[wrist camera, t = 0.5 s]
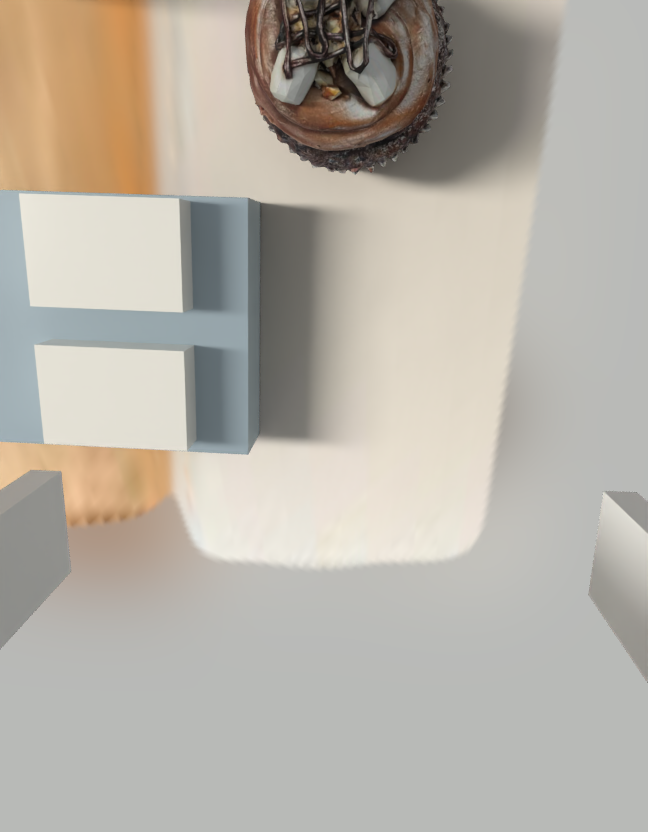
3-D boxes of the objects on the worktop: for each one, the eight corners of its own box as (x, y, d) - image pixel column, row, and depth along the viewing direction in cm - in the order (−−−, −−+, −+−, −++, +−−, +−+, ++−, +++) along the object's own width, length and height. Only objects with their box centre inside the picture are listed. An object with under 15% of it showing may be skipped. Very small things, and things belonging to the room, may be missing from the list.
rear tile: (52, 338, 34) (34, 344, 32) (194, 345, 33) (183, 351, 31) (61, 432, 35) (43, 443, 33) (196, 439, 35) (187, 451, 33)
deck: (-9, 194, 36) (-54, 188, 32) (260, 202, 35) (247, 197, 31) (16, 421, 40) (-21, 440, 36) (259, 433, 39) (248, 454, 35)
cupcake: (281, 197, 35) (251, 180, 25) (249, 7, 32) (201, -93, 23) (449, 167, 34) (484, 138, 24) (429, -31, 31) (459, -152, 22)
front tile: (39, 196, 32) (18, 193, 30) (190, 201, 31) (179, 198, 29) (49, 302, 33) (30, 306, 31) (193, 308, 33) (182, 312, 31)
